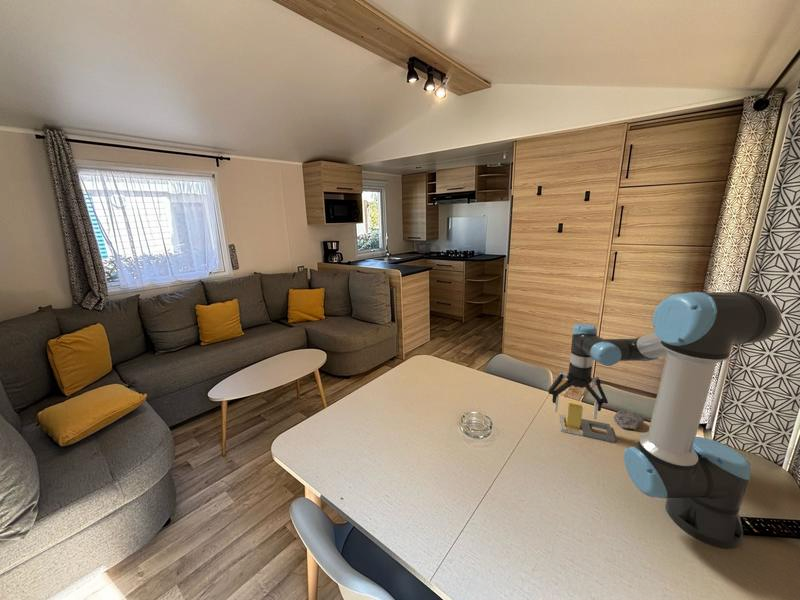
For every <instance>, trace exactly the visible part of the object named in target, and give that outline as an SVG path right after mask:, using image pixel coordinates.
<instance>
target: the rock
mask: <svg viewBox="0 0 800 600" xmlns="http://www.w3.org/2000/svg"><path fill="white" fill-rule="evenodd" d="M613 419H614V421H615V423H616V422H617V423H616V424H617V425H618V426H619V427H620V428H623V429H629V430H635V431H637V430H638V429H639V428H640V427H641V426H642V425H643V423H645V422H644V420H645V419H643V418H642V417H640V416H639V415H637V413H635V412H633V411H625V410H618V411H616V413H615V414H614V415H613Z"/></svg>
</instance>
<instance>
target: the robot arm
mask: <svg viewBox="0 0 800 600" xmlns="http://www.w3.org/2000/svg"><path fill="white" fill-rule="evenodd" d="M782 320H783V319H782V314H781V311H780V309H779V308H778V307H777V305H776V304H775V303H774V302H772V300H770V299H768V298H766V297H765V296H762V295H760V294H756V293H752V292H747V291H731V292H730V291H727V292H725V291H724V292H716V291H715V292H711V291H710V292H704V291H703V292H702V291H700V292H699V291H689V292H686V293H684V292H682V293H677V294H673V295H670V296H668V297H666V298H665V299H663V300H662V301H661V302H660V303H659V304H658V306H657V307H656V308H655V311H654V313H653V315H652V327H653V328H655V329H654V332H650V333H647V334H644V335H641V336H638V337H635V338H602V337H600V336H598V331H597V330H598V329H597V327H596V326H594V325H592V324H588V323H577V324H575V325H573V331H572V337H571V345H570V346H571V347H570V355H569V356H570V357H569V366H568V372H567V373H563V372H562V371H559V373H558V375H557V378H556V379H555V380H554V382H553V383H552V384H551V385H550V387H549V388H548V392H547V393H548V394H549V395H552V404H554V412H555V413H558V409H559V408H558V405H559V398H560V397H559V395H560V394H561V393H563V392H564V391H566V390H567V389H568V388H571V387H574V388H580V389H584V388H586V390H588V392H589V393H590V394H591V396H592V398H594V399H595V400H594V403H593V404H594V406H593V413H592V417H593V419H594V420H597V417H598V412H601V411H602V406H603V404H608V403H609V401H608V398H607V397H606V394H605V392H604V389H603V387H602V386H601V378H600V377H599V376H596V377H592V371H593V367H592V366H593V363H594V362H593V361H595V362H597V363H599V364H601V365H602V366H606V367H611V366H613V365H616V364H618V363H619V362H629V361H633V362H634V361H635V362H636V361H638V362H640V361H642V362H649V361H655V360H658V359H659V358H660V357H664V356H665V360H664V363H663V364H664V365H663V368H662V372H661V378H660V381H659V384H658V388H657V389H658V390H657V395H656V398H655V401H654V407H653V410H652V416H651V420H650V425H649V429H648V431H647V432H642V433H641V434H640V435H639V438H638V442H637V446H630V447H627V448H625V449H624V451H623V463H624V466H625V469H626V473H627V474H628V476H629V478H630V480H631V482H632V483H633V484H634V485H635V487H636V488H637V489H638V490H639V491H640V492H641V493H642V494H643V495H646V497H647V496H648V497H650V498H659V499H663V500H664V499H666V501H665V504H664V506H665V510H666V513H667V515H668V516H669V517H670V518H671V520H672V521H673V522H674V523H675V524H676V525H677V526H679V528H681V529H682V530H683V531H684V532H686V533H688V535H690V536H692V537H694V538H695V539H697V540H699V541H701V542H703V543H706V544H708V545H711V546H713V547H716V548H722V549H735V548H738V547H739V546H740V545H741V544H742V540H743V536H744V531H743V525H742V520H741V517H740V509H741V506H742V503H743V500H744V497H745V494H746V490H747V487H748V485H749V481H750V480H751V471H752V467H751V463H750V462H749V461H748V459H746V457H745V456H743V455H742V454H741V453H740V452H738V451H737V450H735V449H733V448H732V447H730V446H728V445H726V444H724V443H722V442H719V441H718V440H717V441H716V440H714V439H710V438H707V437H703V436H702V437H701V436H697V433H698V429H699V427H700V422H701V418H702V416H703V413H704V408H705V405H706V401H707V398H708V396H709V395H708V393H709V390H710V389H711V388H710V387H711V385H712V384H711V383H712V380H713V376H714V373H715V369H716V366H717V363H720V362H724V361H727V360H728V359H729V356H730V353H731V350H732V347H733V346H738V345H742V344H743V345H744V344H756V343H759V342H762V341H765V340H768V339H769V338H771V337H773V336H774V335H776V333H777V332H778V331H779V330H780V327H781V325H782ZM564 379H567V380H566V381H565V382H564V383H563V384H561V383H562V381H563V380H564ZM592 382H593V384H594V385H596V386H597V387H596V388H597V389H598V392H599V394H600V396H601V397H600V396H599V395H598V393H596V391H595V390H594V389H593V387H592V386H591V385H590V384H591V383H592ZM560 384H561V385H560ZM559 385H560V386H559Z"/></svg>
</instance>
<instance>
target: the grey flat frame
mask: <svg viewBox="0 0 800 600" xmlns="http://www.w3.org/2000/svg"><path fill="white" fill-rule="evenodd" d="M558 415H559V416H558V419H559V426H560V432H563V433H566V434H567V433H568V434H573V435H577V436H582V437H587V438H592V439H595V440H601V441H605V442H610V443H616V438H615V436H614V432H613V429H612V427H611V425H610V423H606V422H599V421H595V420H590V419H585V418H581V425H580V429H575V428H570V427H566V416H567V415H564V414H558ZM564 420H565V421H564ZM591 427H594V428H599V429H605V431H606V433H607V434H603V433H599V432H593V431H592V430H591Z"/></svg>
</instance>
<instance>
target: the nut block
mask: <svg viewBox="0 0 800 600" xmlns="http://www.w3.org/2000/svg"><path fill="white" fill-rule="evenodd" d="M566 409H567V410H566V415H565V416H566V421H565V427H566V426H567V427H570V428H575V429H580V430H581V426H580V425H581V419H583V418H582V416H583V410H584V408H583V405H582V402H580V401H574V400H568V401H567V408H566Z"/></svg>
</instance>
